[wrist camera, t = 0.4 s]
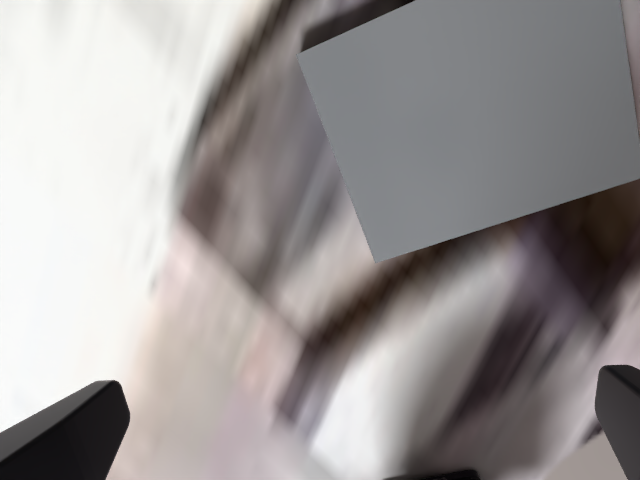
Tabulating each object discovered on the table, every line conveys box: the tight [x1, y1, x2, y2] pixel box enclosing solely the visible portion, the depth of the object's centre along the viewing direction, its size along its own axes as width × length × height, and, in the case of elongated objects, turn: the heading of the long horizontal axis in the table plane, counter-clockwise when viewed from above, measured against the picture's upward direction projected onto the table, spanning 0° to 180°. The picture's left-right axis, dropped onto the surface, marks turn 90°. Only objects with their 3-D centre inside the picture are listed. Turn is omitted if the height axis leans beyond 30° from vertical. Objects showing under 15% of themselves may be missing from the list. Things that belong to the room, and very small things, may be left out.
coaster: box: [296, 0, 640, 263], centre depth 17 cm, size 10×12×1 cm
